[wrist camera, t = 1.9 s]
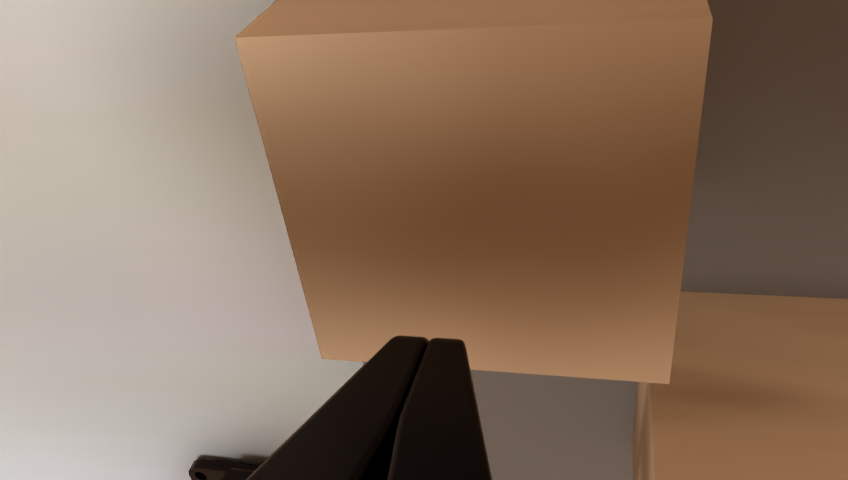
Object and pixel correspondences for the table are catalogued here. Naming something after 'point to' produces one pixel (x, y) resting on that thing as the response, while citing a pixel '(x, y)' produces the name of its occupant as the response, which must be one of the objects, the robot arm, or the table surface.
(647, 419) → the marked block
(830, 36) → the mat
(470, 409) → the robot arm
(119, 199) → the table surface
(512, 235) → the plain block
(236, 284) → the table surface
